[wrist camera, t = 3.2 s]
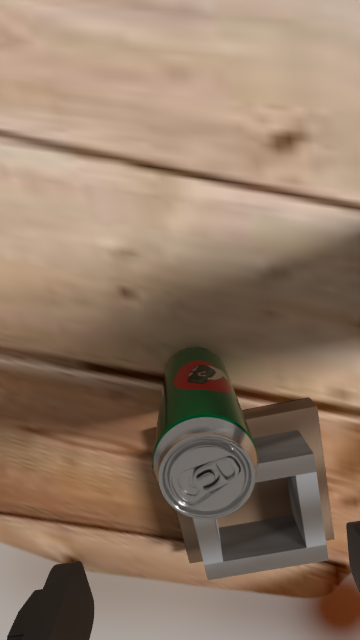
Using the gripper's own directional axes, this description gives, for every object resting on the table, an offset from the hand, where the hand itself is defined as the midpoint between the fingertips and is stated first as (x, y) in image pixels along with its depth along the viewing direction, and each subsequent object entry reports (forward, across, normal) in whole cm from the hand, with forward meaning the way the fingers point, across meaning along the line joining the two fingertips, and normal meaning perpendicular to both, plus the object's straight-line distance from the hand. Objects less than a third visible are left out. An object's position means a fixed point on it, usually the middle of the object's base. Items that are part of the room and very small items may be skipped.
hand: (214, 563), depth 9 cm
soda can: (+16, 0, +1) cm, 16 cm away
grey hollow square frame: (+16, -3, +11) cm, 20 cm away
